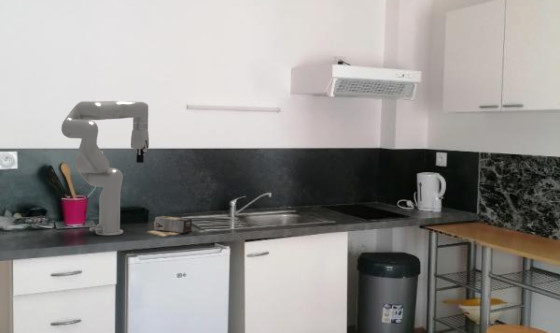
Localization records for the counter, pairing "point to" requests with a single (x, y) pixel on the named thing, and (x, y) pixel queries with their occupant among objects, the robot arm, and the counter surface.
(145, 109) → the robot arm
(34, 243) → the counter surface
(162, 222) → the coffee box
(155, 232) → the open book
